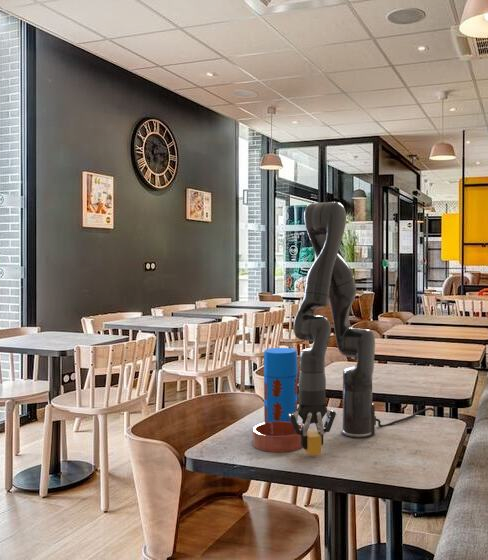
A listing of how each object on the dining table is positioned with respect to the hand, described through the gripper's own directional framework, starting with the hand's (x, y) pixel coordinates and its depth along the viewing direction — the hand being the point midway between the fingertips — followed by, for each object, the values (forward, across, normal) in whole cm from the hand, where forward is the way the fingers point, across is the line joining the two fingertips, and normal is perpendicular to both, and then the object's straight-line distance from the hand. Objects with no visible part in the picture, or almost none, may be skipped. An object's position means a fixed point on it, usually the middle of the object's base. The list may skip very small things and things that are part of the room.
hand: (312, 447), depth 168 cm
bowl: (+3, -6, +14) cm, 16 cm away
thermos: (+3, -1, +31) cm, 31 cm away
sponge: (+1, 0, 0) cm, 1 cm away
